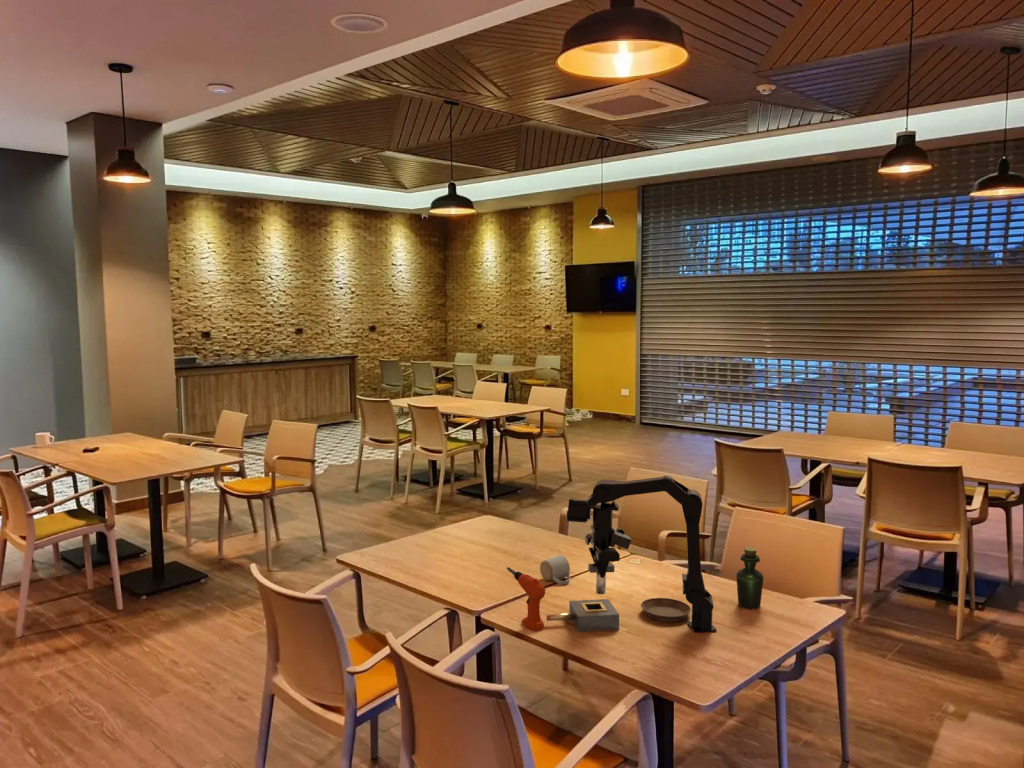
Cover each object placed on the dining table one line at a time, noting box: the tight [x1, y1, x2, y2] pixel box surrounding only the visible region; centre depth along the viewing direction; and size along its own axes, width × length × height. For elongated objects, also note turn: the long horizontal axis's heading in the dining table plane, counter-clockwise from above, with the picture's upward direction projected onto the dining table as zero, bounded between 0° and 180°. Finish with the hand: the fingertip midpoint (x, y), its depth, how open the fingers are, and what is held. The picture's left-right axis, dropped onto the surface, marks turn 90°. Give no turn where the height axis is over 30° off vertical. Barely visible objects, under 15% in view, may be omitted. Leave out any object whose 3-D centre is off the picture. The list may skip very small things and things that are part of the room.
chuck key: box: [587, 562, 615, 595], centre depth 217 cm, size 3×7×8 cm, turn 96°
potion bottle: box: [735, 546, 764, 610], centre depth 228 cm, size 8×8×18 cm
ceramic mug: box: [539, 554, 571, 585], centre depth 252 cm, size 11×8×8 cm
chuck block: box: [545, 598, 620, 633], centre depth 216 cm, size 12×20×5 cm, turn 97°
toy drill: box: [506, 566, 546, 632], centre depth 217 cm, size 5×19×15 cm, turn 33°
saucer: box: [640, 597, 692, 622], centre depth 222 cm, size 15×15×3 cm
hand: (601, 575), depth 217 cm, fingers closed on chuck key, 3 cm apart
